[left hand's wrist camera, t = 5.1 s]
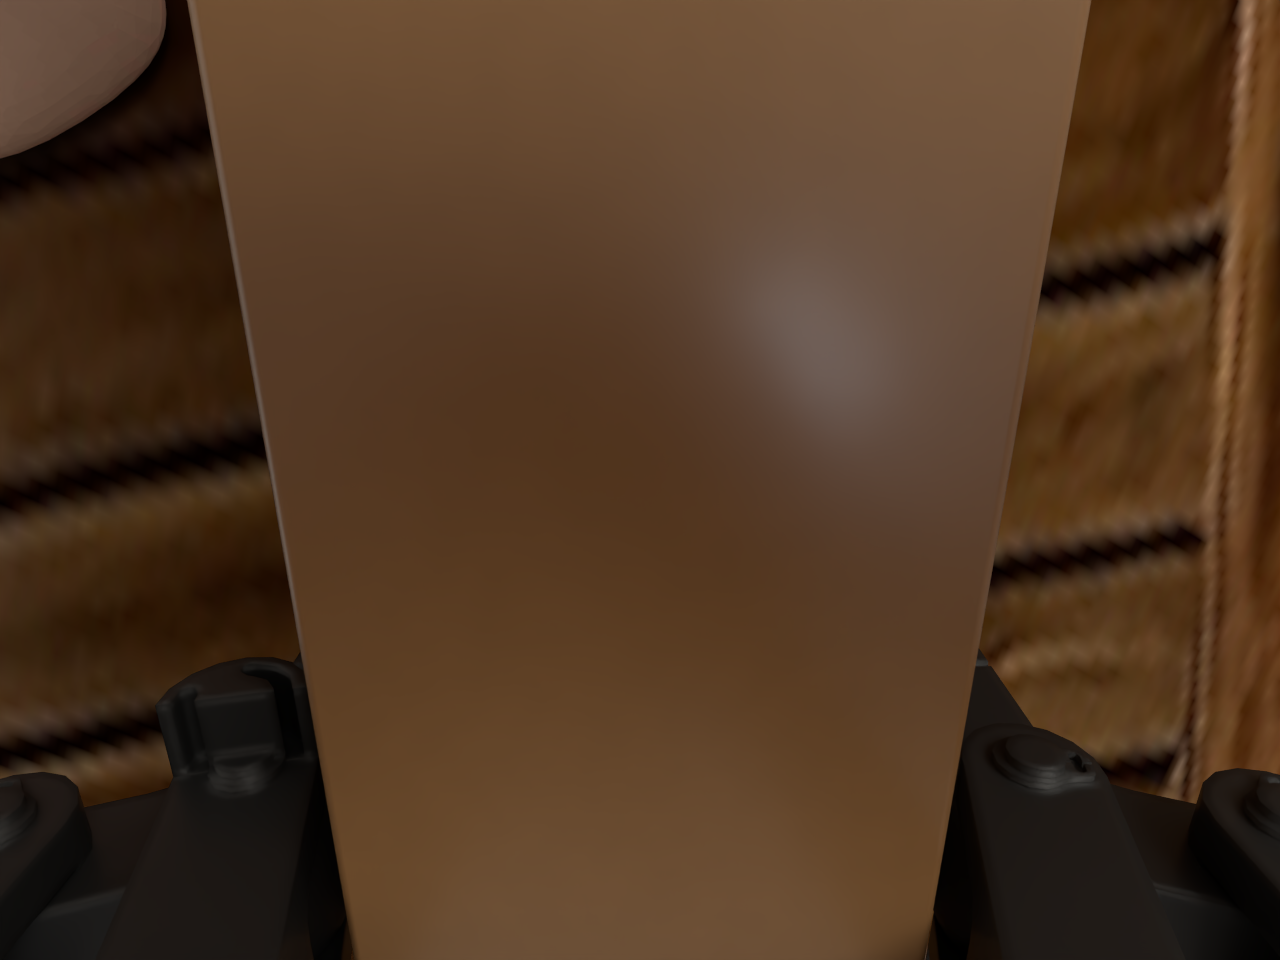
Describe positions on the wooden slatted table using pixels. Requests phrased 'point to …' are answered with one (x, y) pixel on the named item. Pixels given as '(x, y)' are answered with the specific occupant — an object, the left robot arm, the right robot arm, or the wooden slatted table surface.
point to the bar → (639, 443)
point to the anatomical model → (69, 62)
